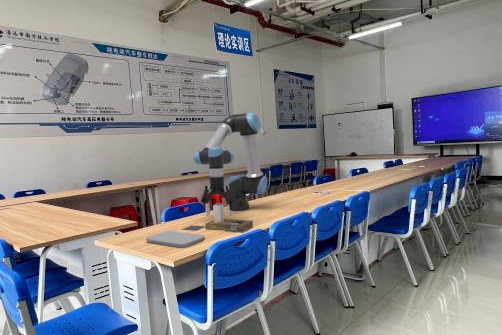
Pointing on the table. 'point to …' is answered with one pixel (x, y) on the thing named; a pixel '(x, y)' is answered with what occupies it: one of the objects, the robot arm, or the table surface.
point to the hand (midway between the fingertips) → (218, 215)
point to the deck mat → (193, 228)
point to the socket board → (230, 225)
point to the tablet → (175, 239)
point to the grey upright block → (218, 212)
